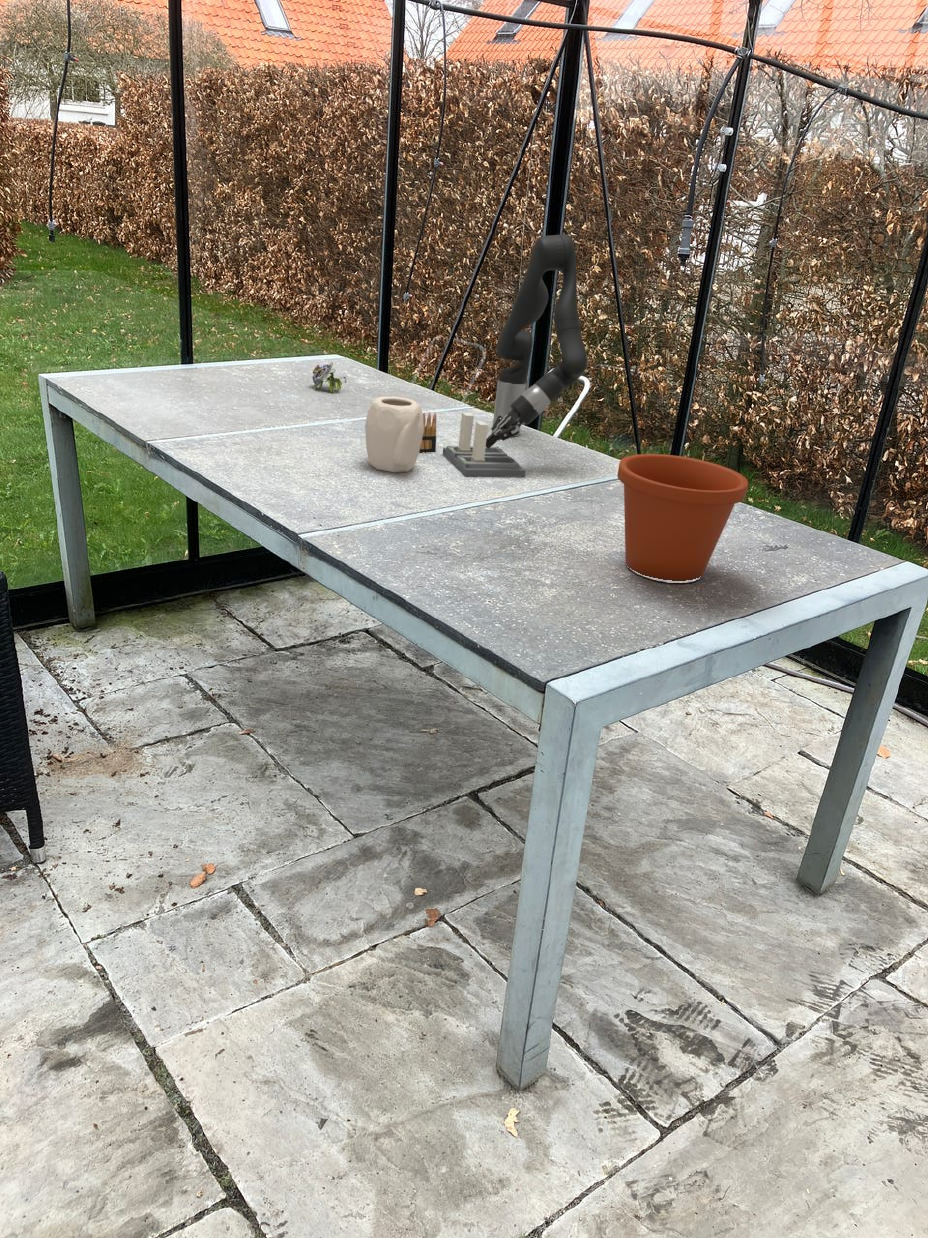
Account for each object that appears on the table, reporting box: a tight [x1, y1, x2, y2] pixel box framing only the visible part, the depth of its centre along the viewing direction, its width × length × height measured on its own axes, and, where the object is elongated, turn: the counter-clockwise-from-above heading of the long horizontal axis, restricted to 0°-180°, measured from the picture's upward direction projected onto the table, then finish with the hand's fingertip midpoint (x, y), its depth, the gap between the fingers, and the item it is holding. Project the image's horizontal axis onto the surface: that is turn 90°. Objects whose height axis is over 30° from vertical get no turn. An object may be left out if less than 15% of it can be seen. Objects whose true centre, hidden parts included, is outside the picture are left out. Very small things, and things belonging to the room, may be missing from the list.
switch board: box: [442, 445, 527, 478], centre depth 284 cm, size 22×18×3 cm
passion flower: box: [311, 361, 347, 395], centre depth 353 cm, size 11×11×12 cm
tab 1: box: [456, 412, 475, 452], centre depth 284 cm, size 4×3×12 cm
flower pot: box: [617, 453, 749, 581], centre depth 217 cm, size 28×28×23 cm
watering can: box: [364, 396, 424, 473], centre depth 268 cm, size 16×27×19 cm, turn 29°
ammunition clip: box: [419, 412, 437, 454], centre depth 288 cm, size 11×2×12 cm, turn 117°
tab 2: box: [470, 421, 489, 462], centre depth 276 cm, size 4×3×12 cm
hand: (485, 445), depth 277 cm, fingers closed
